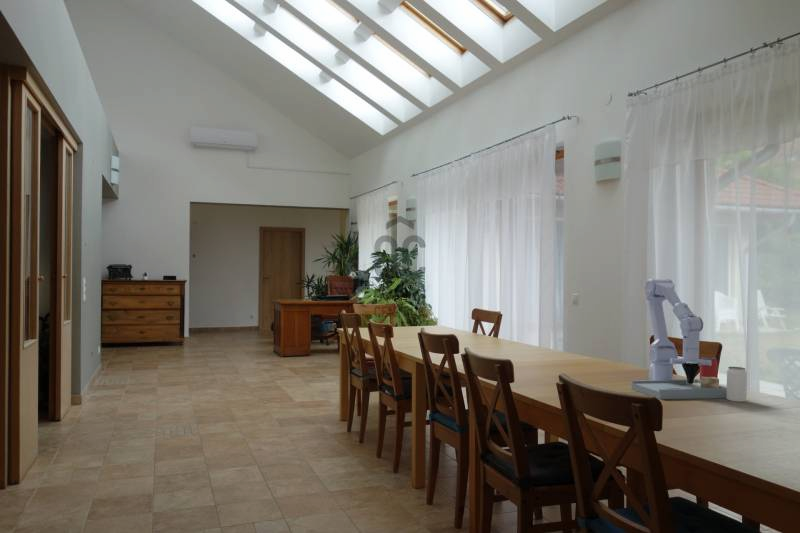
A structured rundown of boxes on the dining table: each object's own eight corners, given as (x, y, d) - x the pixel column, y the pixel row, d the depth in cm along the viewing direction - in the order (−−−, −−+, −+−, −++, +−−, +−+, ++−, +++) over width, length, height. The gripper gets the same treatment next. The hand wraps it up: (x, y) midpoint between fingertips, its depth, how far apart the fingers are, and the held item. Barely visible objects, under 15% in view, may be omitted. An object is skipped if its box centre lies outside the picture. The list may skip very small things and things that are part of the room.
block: (705, 389, 236) (705, 378, 236) (700, 386, 241) (700, 376, 241) (718, 389, 235) (719, 379, 235) (714, 387, 240) (714, 377, 240)
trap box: (631, 389, 246) (631, 380, 246) (697, 388, 252) (697, 379, 252) (660, 399, 228) (660, 389, 228) (730, 397, 233) (730, 388, 233)
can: (741, 399, 231) (742, 366, 231) (749, 402, 225) (750, 369, 225) (723, 398, 232) (724, 366, 232) (730, 401, 225) (731, 368, 225)
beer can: (695, 385, 257) (696, 356, 257) (707, 384, 260) (707, 356, 260) (709, 388, 251) (710, 359, 251) (721, 387, 254) (721, 358, 254)
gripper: (674, 348, 236) (673, 384, 236) (714, 350, 234) (713, 386, 234) (668, 346, 243) (668, 380, 243) (708, 347, 241) (707, 382, 241)
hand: (690, 383), depth 239 cm, fingers closed
